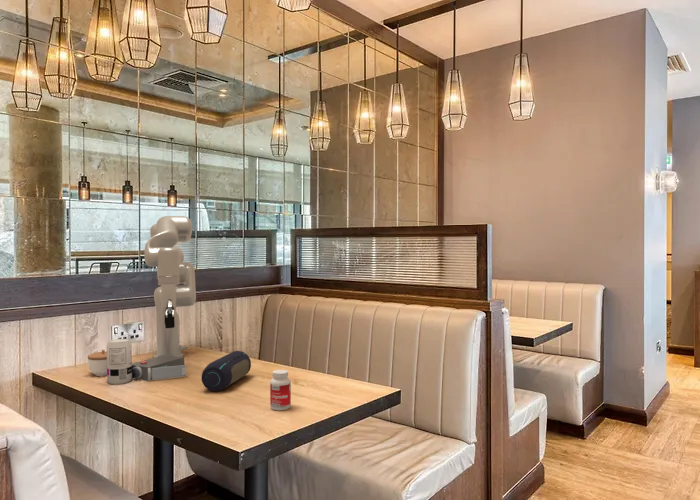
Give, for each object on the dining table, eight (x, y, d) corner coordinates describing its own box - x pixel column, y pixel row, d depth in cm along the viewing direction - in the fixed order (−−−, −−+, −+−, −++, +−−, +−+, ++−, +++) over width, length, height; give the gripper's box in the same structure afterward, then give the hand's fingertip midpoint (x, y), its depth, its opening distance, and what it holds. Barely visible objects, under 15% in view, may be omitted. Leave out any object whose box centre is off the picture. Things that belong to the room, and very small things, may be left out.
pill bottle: (268, 411, 153) (268, 374, 153) (272, 404, 159) (271, 369, 159) (289, 411, 153) (289, 373, 153) (292, 404, 159) (291, 368, 159)
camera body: (164, 367, 208) (164, 353, 208) (186, 370, 203) (186, 356, 203) (125, 378, 191) (124, 363, 191) (147, 382, 186) (147, 366, 186)
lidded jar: (124, 370, 203) (123, 347, 203) (108, 378, 192) (108, 353, 192) (98, 370, 204) (98, 346, 204) (81, 377, 193) (81, 352, 193)
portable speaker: (225, 394, 170) (225, 364, 170) (198, 393, 172) (197, 363, 172) (254, 375, 195) (254, 349, 195) (230, 374, 197) (229, 348, 197)
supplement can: (102, 383, 185) (101, 341, 185) (121, 377, 192) (121, 337, 192) (117, 385, 181) (116, 343, 181) (136, 380, 189) (136, 339, 188)
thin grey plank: (186, 375, 193) (186, 364, 192) (186, 376, 191) (186, 365, 191) (152, 379, 188) (151, 368, 188) (152, 380, 187) (152, 368, 187)
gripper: (157, 279, 200) (158, 323, 200) (158, 282, 184) (159, 330, 184) (178, 279, 203) (178, 322, 203) (180, 281, 186) (181, 328, 187)
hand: (169, 326), depth 193 cm, fingers open, 9 cm apart
